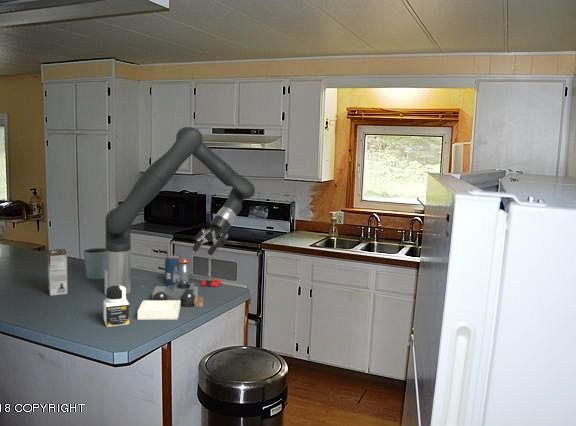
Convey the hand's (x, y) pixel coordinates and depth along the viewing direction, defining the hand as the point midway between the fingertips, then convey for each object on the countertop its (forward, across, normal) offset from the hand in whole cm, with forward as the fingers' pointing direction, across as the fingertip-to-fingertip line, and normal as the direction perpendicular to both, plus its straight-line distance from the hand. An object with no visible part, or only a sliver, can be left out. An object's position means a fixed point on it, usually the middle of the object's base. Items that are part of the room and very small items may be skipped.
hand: (201, 252), depth 191 cm
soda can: (+11, -20, +14) cm, 27 cm away
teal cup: (+22, -52, +3) cm, 56 cm away
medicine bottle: (+40, +2, -15) cm, 43 cm away
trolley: (+21, -1, +4) cm, 21 cm away
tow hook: (+2, -9, +23) cm, 25 cm away
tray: (+30, +6, -5) cm, 31 cm away
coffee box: (+38, -42, -13) cm, 58 cm away
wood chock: (+19, +9, +6) cm, 22 cm away
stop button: (+16, 0, +3) cm, 16 cm away
